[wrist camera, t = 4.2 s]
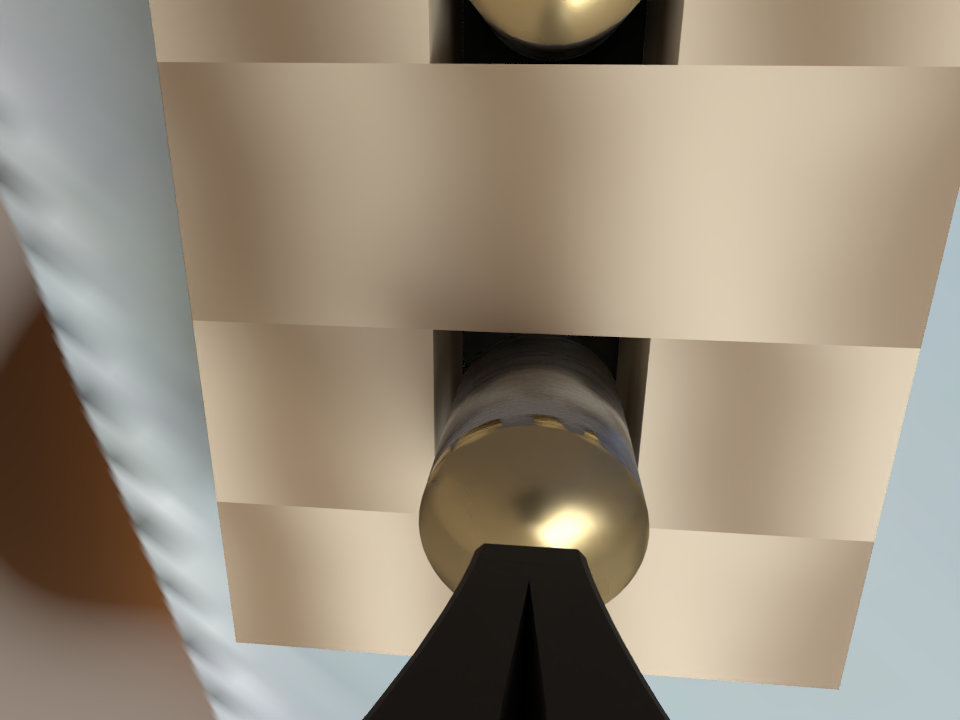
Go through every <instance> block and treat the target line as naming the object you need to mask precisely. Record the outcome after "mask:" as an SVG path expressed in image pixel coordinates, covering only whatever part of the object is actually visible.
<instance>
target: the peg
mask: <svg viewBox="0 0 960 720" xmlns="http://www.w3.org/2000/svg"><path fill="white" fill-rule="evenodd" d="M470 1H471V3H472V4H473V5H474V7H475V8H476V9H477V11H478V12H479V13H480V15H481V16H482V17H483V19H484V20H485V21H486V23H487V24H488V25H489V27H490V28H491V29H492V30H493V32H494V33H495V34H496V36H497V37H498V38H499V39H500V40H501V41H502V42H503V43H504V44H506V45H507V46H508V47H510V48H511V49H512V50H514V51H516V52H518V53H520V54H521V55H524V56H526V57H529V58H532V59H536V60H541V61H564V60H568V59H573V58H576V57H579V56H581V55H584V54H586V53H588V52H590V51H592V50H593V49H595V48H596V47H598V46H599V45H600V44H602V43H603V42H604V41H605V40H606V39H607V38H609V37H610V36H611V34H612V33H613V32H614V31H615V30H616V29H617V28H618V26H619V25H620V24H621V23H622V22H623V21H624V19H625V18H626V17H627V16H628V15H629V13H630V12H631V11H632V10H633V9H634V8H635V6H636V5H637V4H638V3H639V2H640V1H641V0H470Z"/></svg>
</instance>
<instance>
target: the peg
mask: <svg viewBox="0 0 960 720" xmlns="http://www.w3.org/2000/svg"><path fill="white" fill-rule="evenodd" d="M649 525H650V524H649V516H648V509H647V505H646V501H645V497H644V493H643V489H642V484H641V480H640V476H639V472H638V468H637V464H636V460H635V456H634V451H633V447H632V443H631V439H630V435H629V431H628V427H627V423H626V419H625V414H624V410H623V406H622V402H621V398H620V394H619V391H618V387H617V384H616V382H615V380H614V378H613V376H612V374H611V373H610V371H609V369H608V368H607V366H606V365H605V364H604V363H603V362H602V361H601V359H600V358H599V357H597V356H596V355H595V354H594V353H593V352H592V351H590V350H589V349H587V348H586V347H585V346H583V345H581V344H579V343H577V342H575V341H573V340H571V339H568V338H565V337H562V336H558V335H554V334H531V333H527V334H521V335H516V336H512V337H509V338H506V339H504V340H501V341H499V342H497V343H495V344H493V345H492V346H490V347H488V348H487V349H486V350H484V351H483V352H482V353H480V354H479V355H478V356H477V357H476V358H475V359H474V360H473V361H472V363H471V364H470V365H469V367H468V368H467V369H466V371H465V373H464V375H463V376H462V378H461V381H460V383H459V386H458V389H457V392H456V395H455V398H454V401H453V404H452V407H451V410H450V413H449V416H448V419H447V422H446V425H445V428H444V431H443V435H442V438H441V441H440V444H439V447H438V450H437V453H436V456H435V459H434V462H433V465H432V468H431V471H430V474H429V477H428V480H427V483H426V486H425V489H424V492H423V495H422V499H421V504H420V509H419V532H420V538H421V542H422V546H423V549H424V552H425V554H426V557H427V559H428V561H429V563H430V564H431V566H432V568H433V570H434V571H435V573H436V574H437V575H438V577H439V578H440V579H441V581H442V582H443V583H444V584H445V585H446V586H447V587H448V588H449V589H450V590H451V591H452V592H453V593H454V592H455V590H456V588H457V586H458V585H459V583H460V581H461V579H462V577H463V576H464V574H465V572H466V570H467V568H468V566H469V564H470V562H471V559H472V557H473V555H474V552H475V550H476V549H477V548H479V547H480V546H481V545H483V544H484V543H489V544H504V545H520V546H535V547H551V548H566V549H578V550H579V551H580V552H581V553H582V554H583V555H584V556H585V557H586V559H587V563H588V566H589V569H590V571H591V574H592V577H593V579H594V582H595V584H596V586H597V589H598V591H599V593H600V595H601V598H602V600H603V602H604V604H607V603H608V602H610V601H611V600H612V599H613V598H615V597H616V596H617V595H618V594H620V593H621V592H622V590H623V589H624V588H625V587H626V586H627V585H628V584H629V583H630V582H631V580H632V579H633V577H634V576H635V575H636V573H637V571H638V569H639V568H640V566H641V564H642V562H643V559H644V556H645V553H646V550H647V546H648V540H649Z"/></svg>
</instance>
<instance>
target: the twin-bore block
mask: <svg viewBox="0 0 960 720" xmlns="http://www.w3.org/2000/svg"><path fill="white" fill-rule="evenodd" d="M149 6H150V13H151V20H152V28H153V35H154V42H155V50H156V57H157V64H158V72H159V79H160V86H161V94H162V101H163V108H164V116H165V123H166V130H167V138H168V145H169V152H170V160H171V167H172V174H173V182H174V189H175V196H176V204H177V211H178V218H179V226H180V233H181V240H182V248H183V255H184V262H185V270H186V277H187V284H188V292H189V299H190V306H191V314H192V321H193V328H194V336H195V343H196V350H197V358H198V365H199V372H200V380H201V387H202V394H203V402H204V409H205V416H206V424H207V431H208V438H209V446H210V453H211V460H212V468H213V475H214V482H215V490H216V497H217V504H218V512H219V519H220V526H221V534H222V541H223V548H224V556H225V563H226V570H227V578H228V585H229V592H230V599H231V607H232V614H233V621H234V629H235V636H236V642H241V643H254V644H267V645H279V646H292V647H305V648H317V649H330V650H343V651H356V652H368V653H381V654H394V655H406V656H412V655H413V654H414V653H415V651H416V650H417V648H418V647H419V646H420V644H421V643H422V641H423V640H424V638H425V637H426V635H427V634H428V632H429V631H430V629H431V628H432V626H433V625H434V623H435V622H436V620H437V619H438V617H439V616H440V614H441V613H442V611H443V610H444V608H445V606H446V605H447V603H448V601H449V600H450V598H451V596H452V595H453V592H452V591H451V590H450V589H449V588H448V587H447V586H446V585H445V584H444V583H443V582H442V581H441V579H440V578H439V577H438V575H437V574H436V573H435V571H434V570H433V568H432V566H431V564H430V563H429V561H428V559H427V557H426V554H425V552H424V549H423V546H422V542H421V538H420V532H419V509H420V504H421V499H422V495H423V492H424V489H425V486H426V483H427V480H428V477H429V474H430V471H431V468H432V465H433V462H434V459H435V456H436V453H437V450H438V447H439V444H440V441H441V438H442V435H443V431H444V428H445V425H446V422H447V419H448V416H449V413H450V410H451V407H452V404H453V401H454V398H455V395H456V392H457V389H458V386H459V383H460V381H461V378H462V376H463V331H479V332H505V333H531V334H557V335H583V336H609V337H620V339H619V351H618V363H617V375H616V384H617V387H618V391H619V394H620V398H621V402H622V406H623V410H624V414H625V419H626V423H627V427H628V431H629V435H630V439H631V443H632V447H633V451H634V456H635V460H636V464H637V468H638V472H639V476H640V480H641V484H642V489H643V493H644V497H645V501H646V505H647V509H648V516H649V524H650V525H649V540H648V546H647V550H646V553H645V556H644V559H643V562H642V564H641V566H640V568H639V569H638V571H637V573H636V575H635V576H634V577H633V579H632V580H631V582H630V583H629V584H628V585H627V586H626V587H625V588H624V589H623V590H622V592H621V593H620V594H618V595H617V596H616V597H615V598H613V599H612V600H611V601H610V602H608V603H607V604H605V606H606V608H607V610H608V612H609V614H610V616H611V618H612V621H613V623H614V624H615V626H616V628H617V630H618V632H619V634H620V636H621V638H622V640H623V642H624V643H625V645H626V647H627V649H628V650H629V652H630V654H631V656H632V657H633V659H634V661H635V663H636V664H637V666H638V668H639V670H640V672H641V673H642V674H647V675H660V676H673V677H685V678H698V679H711V680H723V681H736V682H749V683H761V684H774V685H787V686H799V687H812V688H825V689H837V690H839V686H840V682H841V678H842V674H843V670H844V665H845V661H846V657H847V653H848V649H849V645H850V640H851V636H852V632H853V628H854V624H855V620H856V615H857V611H858V607H859V603H860V599H861V595H862V590H863V586H864V582H865V578H866V574H867V570H868V565H869V561H870V557H871V553H872V549H873V545H874V540H875V536H876V532H877V528H878V524H879V520H880V515H881V511H882V507H883V503H884V499H885V495H886V490H887V486H888V482H889V478H890V474H891V470H892V465H893V461H894V457H895V453H896V449H897V445H898V440H899V436H900V432H901V428H902V424H903V420H904V415H905V411H906V407H907V403H908V399H909V395H910V390H911V386H912V382H913V378H914V374H915V370H916V365H917V361H918V357H919V353H920V349H921V345H922V340H923V336H924V332H925V328H926V324H927V320H928V315H929V311H930V307H931V303H932V299H933V295H934V290H935V286H936V282H937V278H938V274H939V270H940V265H941V261H942V257H943V253H944V249H945V245H946V240H947V236H948V232H949V228H950V224H951V220H952V215H953V211H954V207H955V203H956V199H957V195H958V190H959V186H960V0H648V2H647V15H646V27H645V39H644V51H643V63H642V65H577V64H463V0H149Z"/></svg>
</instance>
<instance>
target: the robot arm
mask: <svg viewBox="0 0 960 720" xmlns="http://www.w3.org/2000/svg"><path fill="white" fill-rule="evenodd" d="M362 720H670V719H669V717H668V716H667V714H666V713H665V711H664V710H663V708H662V707H661V705H660V703H659V702H658V700H657V698H656V697H655V695H654V694H653V692H652V690H651V689H650V687H649V685H648V684H647V682H646V680H645V679H644V677H643V675H642V673H641V672H640V670H639V668H638V666H637V664H636V663H635V661H634V659H633V657H632V656H631V654H630V652H629V650H628V649H627V647H626V645H625V643H624V642H623V640H622V638H621V636H620V634H619V632H618V630H617V628H616V626H615V624H614V623H613V621H612V618H611V616H610V614H609V612H608V610H607V608H606V606H605V604H604V602H603V600H602V598H601V595H600V593H599V591H598V589H597V586H596V584H595V582H594V579H593V577H592V574H591V571H590V569H589V566H588V563H587V559H586V557H585V556H584V555H583V554H582V553H581V552H580V551H579V550H578V549H566V548H551V547H535V546H520V545H504V544H489V543H484V544H483V545H481V546H480V547H479V548H477V549H476V550H475V552H474V555H473V557H472V559H471V562H470V564H469V566H468V568H467V570H466V572H465V574H464V576H463V577H462V579H461V581H460V583H459V585H458V586H457V588H456V590H455V592H454V593H453V595H452V596H451V598H450V600H449V601H448V603H447V605H446V606H445V608H444V610H443V611H442V613H441V614H440V616H439V617H438V619H437V620H436V622H435V623H434V625H433V626H432V628H431V629H430V631H429V632H428V634H427V635H426V637H425V638H424V640H423V641H422V643H421V644H420V646H419V647H418V648H417V650H416V651H415V653H414V654H413V655H412V657H411V658H410V660H409V661H408V662H407V664H406V665H405V666H404V667H403V669H402V670H401V671H400V673H399V674H398V675H397V677H396V678H395V679H394V680H393V682H392V683H391V684H390V686H389V687H388V688H387V689H386V691H385V692H384V693H383V695H382V696H381V697H380V698H379V700H378V701H377V702H376V704H375V705H374V706H373V707H372V709H371V710H370V711H369V712H368V714H367V715H366V716H365V717H364V718H363V719H362Z"/></svg>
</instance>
